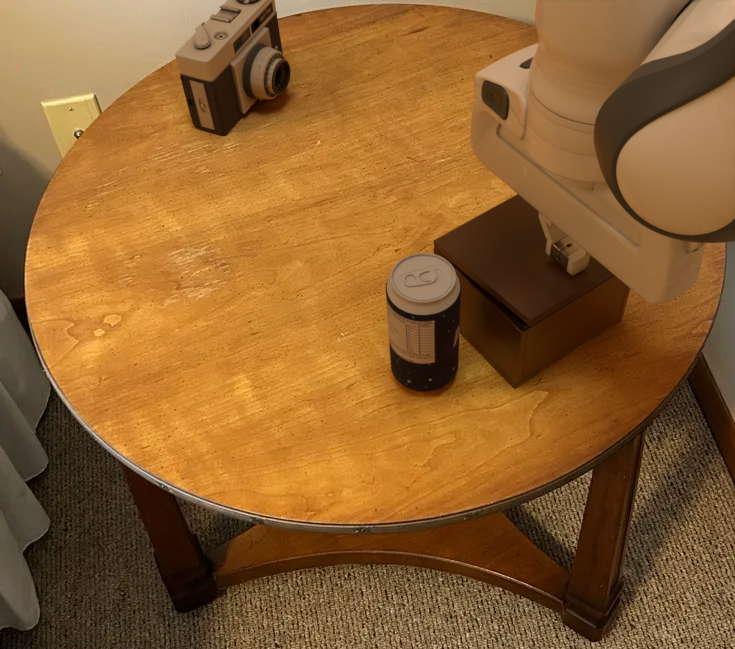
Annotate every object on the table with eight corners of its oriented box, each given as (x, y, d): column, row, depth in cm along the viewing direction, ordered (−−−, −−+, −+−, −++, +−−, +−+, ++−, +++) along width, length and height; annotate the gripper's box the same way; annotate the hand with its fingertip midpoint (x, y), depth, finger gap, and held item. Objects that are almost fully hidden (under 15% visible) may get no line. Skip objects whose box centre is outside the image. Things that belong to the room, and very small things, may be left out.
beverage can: (464, 391, 72) (469, 299, 63) (397, 403, 72) (392, 311, 62) (449, 338, 76) (452, 243, 66) (385, 349, 75) (379, 255, 66)
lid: (649, 253, 68) (650, 245, 68) (530, 327, 65) (530, 319, 64) (545, 185, 76) (545, 178, 75) (433, 247, 72) (432, 240, 72)
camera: (254, 146, 93) (238, 67, 86) (190, 128, 96) (169, 49, 88) (315, 72, 101) (305, -7, 93) (254, 57, 103) (239, -21, 96)
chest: (622, 319, 76) (638, 260, 70) (514, 388, 72) (521, 333, 66) (536, 245, 82) (544, 185, 76) (433, 305, 78) (433, 247, 72)
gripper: (753, 184, 52) (697, 326, 63) (527, 31, 63) (513, 174, 74) (678, 230, 50) (633, 368, 61) (458, 63, 61) (454, 206, 72)
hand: (566, 261), depth 67 cm, fingers closed
